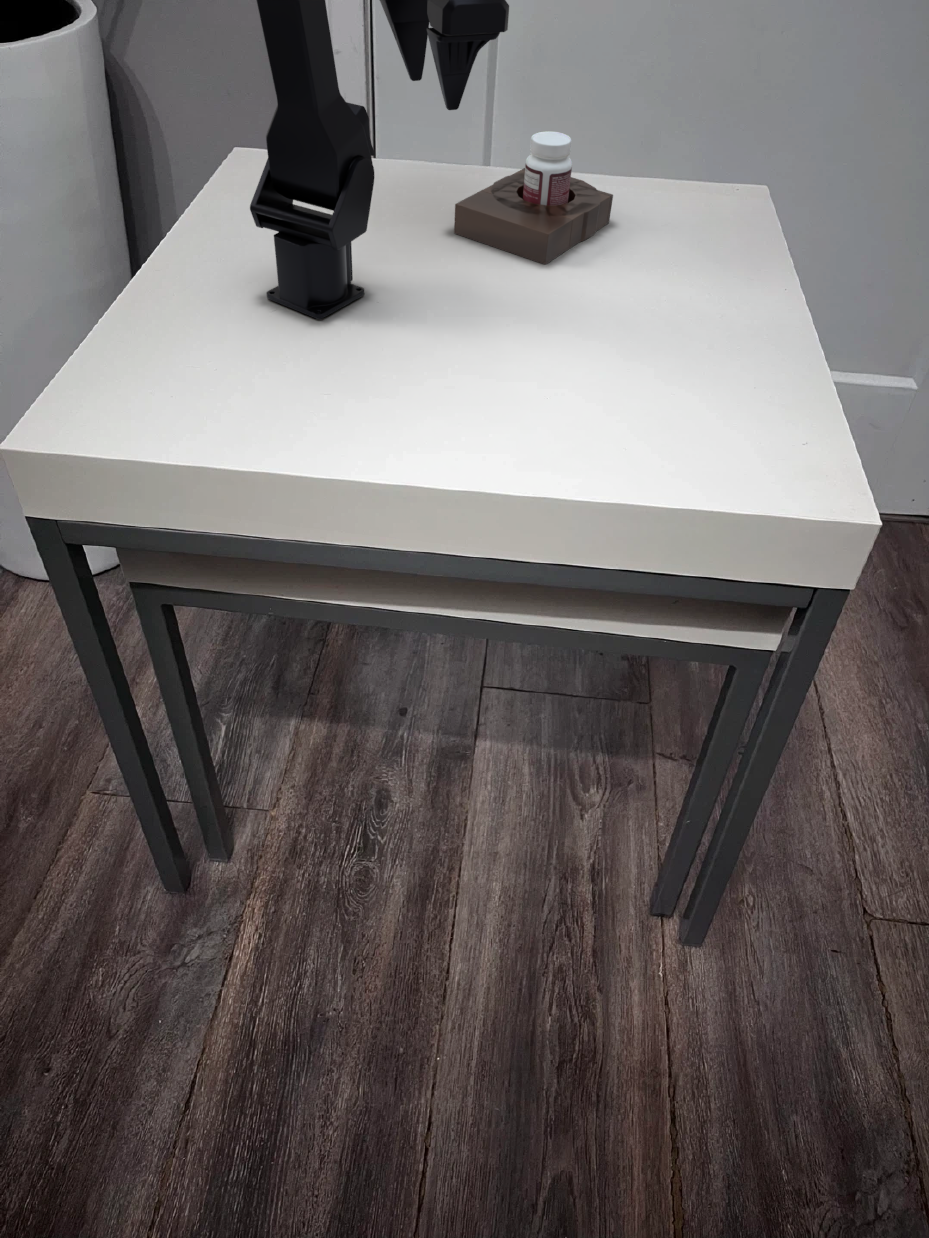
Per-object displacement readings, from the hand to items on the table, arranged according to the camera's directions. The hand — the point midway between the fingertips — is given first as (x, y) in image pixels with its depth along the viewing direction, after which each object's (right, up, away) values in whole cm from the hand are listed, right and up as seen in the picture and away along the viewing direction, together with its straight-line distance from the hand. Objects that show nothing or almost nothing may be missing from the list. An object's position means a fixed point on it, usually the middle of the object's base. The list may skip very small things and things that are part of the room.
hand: (433, 94), depth 93 cm
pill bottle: (+11, -9, +9) cm, 17 cm away
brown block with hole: (+10, -10, +7) cm, 16 cm away
